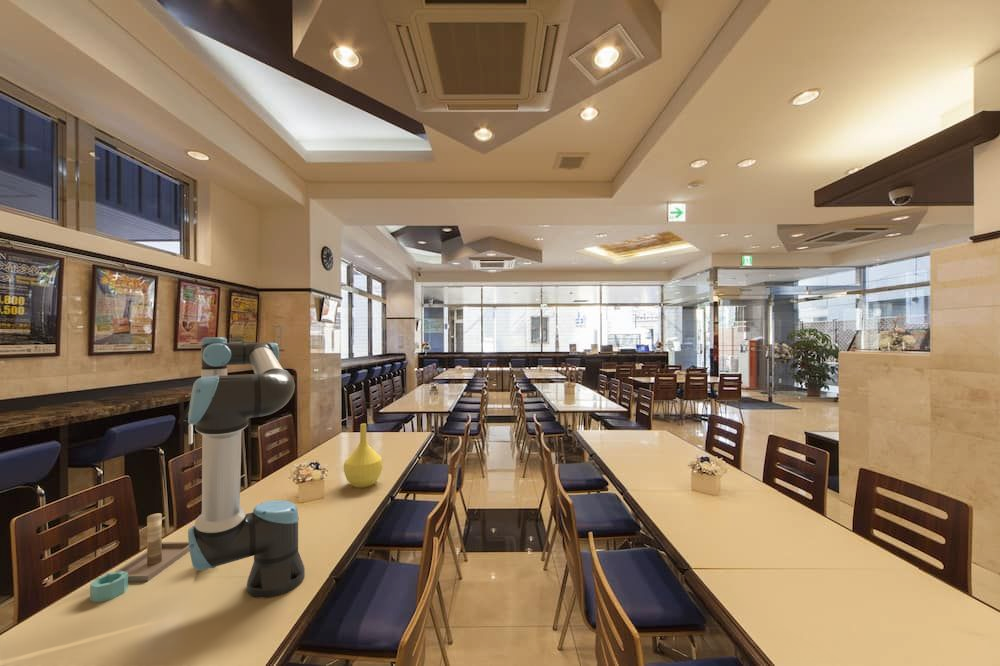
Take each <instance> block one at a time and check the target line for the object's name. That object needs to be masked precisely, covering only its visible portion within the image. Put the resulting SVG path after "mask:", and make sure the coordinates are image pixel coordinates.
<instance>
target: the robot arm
mask: <svg viewBox="0 0 1000 666" xmlns="http://www.w3.org/2000/svg"><path fill="white" fill-rule="evenodd" d="M200 343H201V344H200V350H201V351H200V353H201V354H200V356H201V357H200V359H201V362H200V363H201V371H200V372H201V373H200V377H199V378H197V379H196V380H195V381H194V383H193V385H192V389H191V394H190V397H189V402H188V403H187V406H186V407H185V410H184V411H183V412H182V414H181V416H180V417H179V419H178V422H177V424H179V425H184V435H188V445H192V444H193V443H194V429H195V431H196V432H197V433H198V434H200V435H201V436H202V437H201V443H202V444H201V445H202V446H201V447H202V448H201V449H202V453H201V455H202V457H201V458H202V459H201V514H199V515H198V517H197V518H196V520H195V521H194V525H192V526H190V527H189V528H188V530H187V533H188V534H187V537H188V539H187V540H188V542H189V548H190V551H189V555H190V559H191V560H190V561H191V564H192V567H193V569H194V570H196V571H197V572H198V571H204V570H208V569H215V568H216V567H219V566H223V565H226V564H229V563H233V562H236V561H240V560H244V559H247V558H249V557H253V563H252V566H251V569H250V572H249V575H248V578H247V582H246V592H247V594H248V596H250V597H252V598H257V599H269V598H275V597H278V596H281V595H284V594H286V593H288V592H290V591H292V590H293V589H296V588H297V587H298V586H299V585H301V583H302V582H303V581H304V579H305V575H306V572H305V565H304V562H303V560H302V557H301V555H300V552H299V522H300V521H299V520H300V518H299V510H298V507H297V505H296V504H295V503H293V502H291V501H288V500H269V501H264V502H261V503H258V504H257V505H255V507H254V509H253V510H252V512H249V513H247V511H246V510H245V508H243V507H242V506H240V505H241V469H242V468H241V465H242V431H244V429H246V428H247V427H248V426H249V421H250V419H251V418H257V417H258V418H259V417H265V416H269V415H272V414H274V413H276V412H277V411H279V410H281V409H282V408H283V407H285V406H286V405H287V404H288V403H289V401H290V400H291V399H292V397H293V395H294V393H295V388H296V384H295V380H294V378H293V375H292V374H291V373H290V372H289V371H288V370H286V369H285V368H283V367H282V365H281V364H280V361H279V360H280V348H279V345H278V343H276V342H268V341H266V342H228V339H227V337H222V336H221V337H219V336H218V337H203V338H202V339H201V341H200ZM239 365H241V366H242V365H245V366H246V365H247V366H248V365H251V368H252V369H253V374H252V373H250V374H248V373H247V374H246V373H245V374H230V375H228V366H239ZM186 418H188V419H187V420H186Z"/></svg>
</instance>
